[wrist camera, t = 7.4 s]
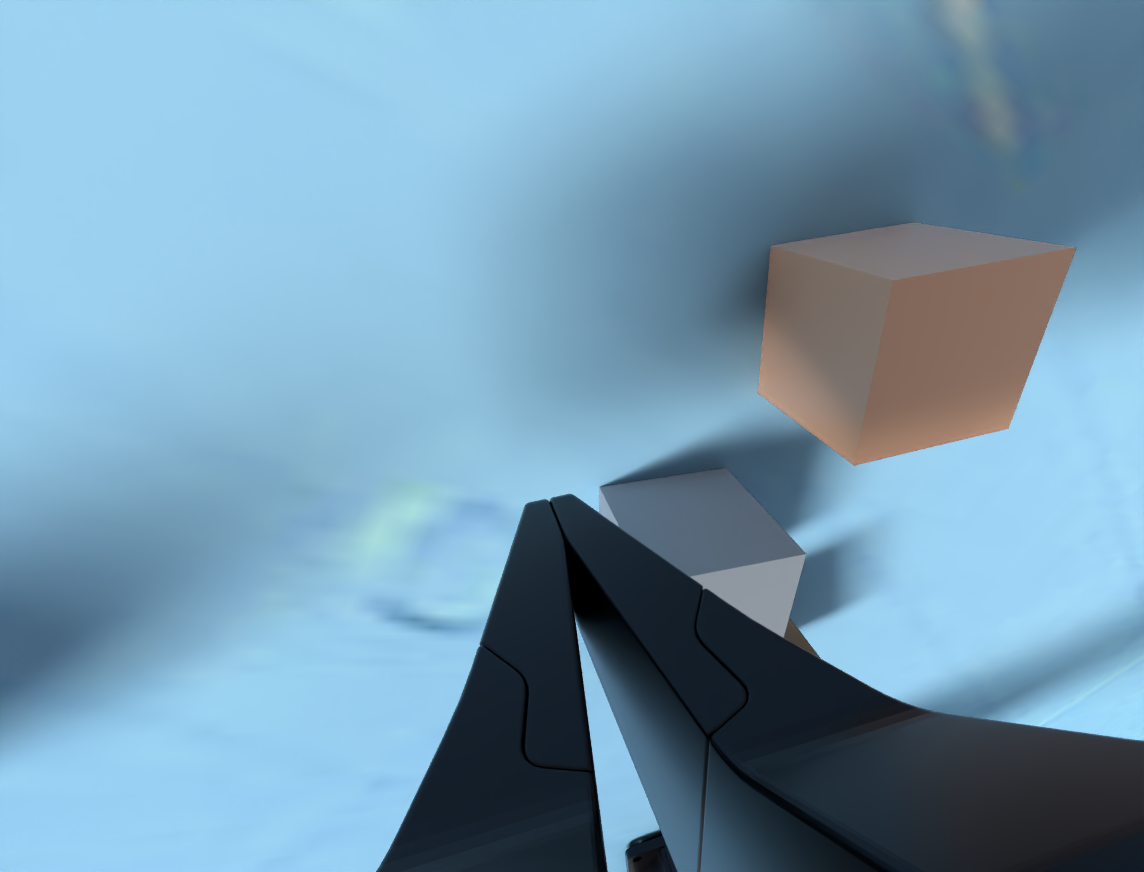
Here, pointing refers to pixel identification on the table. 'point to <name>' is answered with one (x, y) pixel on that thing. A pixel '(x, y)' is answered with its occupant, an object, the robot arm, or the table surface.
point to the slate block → (713, 538)
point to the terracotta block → (905, 334)
